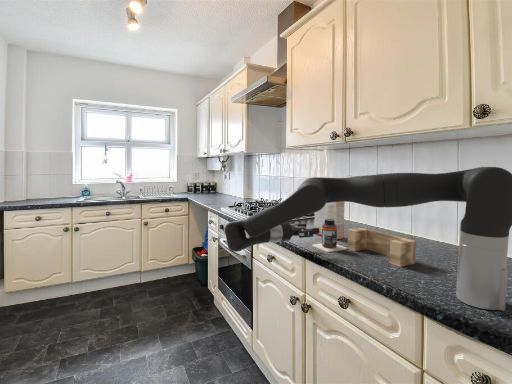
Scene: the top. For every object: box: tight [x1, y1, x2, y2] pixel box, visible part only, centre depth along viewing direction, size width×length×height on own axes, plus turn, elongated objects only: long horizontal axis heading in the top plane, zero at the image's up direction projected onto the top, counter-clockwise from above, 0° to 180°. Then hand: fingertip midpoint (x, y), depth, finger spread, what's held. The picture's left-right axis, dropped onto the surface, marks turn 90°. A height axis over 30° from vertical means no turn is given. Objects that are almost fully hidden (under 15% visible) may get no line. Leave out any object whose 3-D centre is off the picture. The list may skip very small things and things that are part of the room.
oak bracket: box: [346, 227, 417, 268], centre depth 106 cm, size 8×24×8 cm, turn 26°
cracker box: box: [313, 202, 346, 240], centre depth 135 cm, size 14×6×21 cm, turn 32°
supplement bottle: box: [321, 219, 338, 248], centre depth 116 cm, size 6×6×11 cm
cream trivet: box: [311, 242, 347, 253], centre depth 117 cm, size 10×10×1 cm
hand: (312, 228), depth 113 cm, fingers open, 8 cm apart
